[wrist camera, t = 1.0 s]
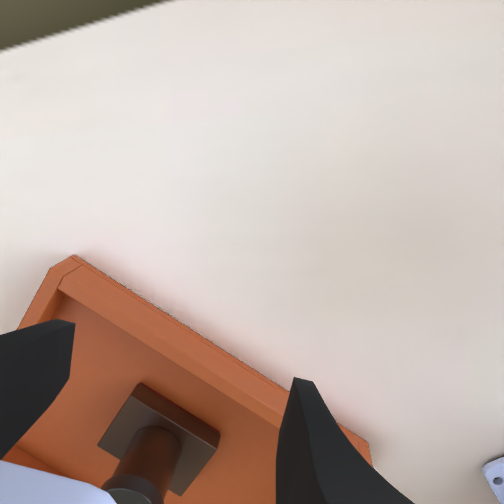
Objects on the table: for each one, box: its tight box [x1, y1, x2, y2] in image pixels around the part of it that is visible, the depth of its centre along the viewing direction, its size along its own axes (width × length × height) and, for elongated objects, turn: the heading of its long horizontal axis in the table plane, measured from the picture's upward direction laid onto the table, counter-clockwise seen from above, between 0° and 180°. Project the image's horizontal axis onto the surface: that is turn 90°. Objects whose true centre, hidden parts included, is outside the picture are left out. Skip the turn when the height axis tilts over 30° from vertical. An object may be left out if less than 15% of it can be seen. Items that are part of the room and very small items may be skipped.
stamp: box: [97, 382, 221, 504], centre depth 24 cm, size 6×4×6 cm
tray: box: [2, 255, 373, 504], centre depth 26 cm, size 20×14×2 cm
